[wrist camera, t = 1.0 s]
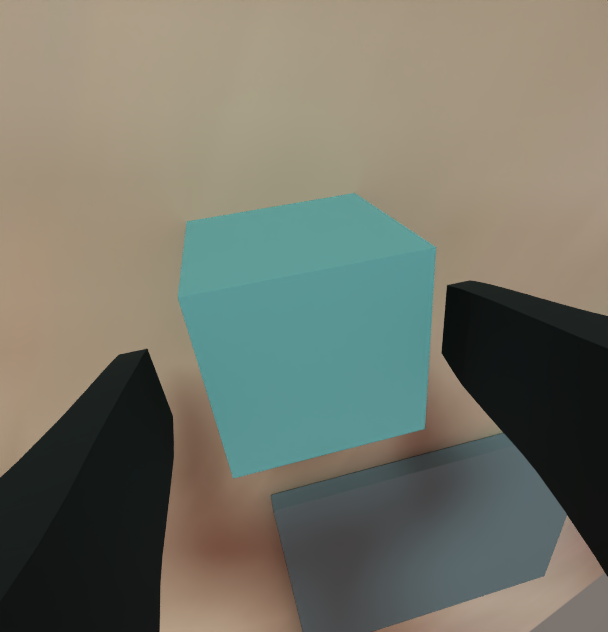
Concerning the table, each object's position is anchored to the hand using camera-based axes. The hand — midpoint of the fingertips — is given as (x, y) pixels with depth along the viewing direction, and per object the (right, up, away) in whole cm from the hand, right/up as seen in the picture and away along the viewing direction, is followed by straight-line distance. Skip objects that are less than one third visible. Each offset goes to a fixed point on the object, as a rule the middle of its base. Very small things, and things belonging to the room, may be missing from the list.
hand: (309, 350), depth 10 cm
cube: (-1, +2, +3) cm, 4 cm away
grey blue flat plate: (+7, -11, +13) cm, 18 cm away
